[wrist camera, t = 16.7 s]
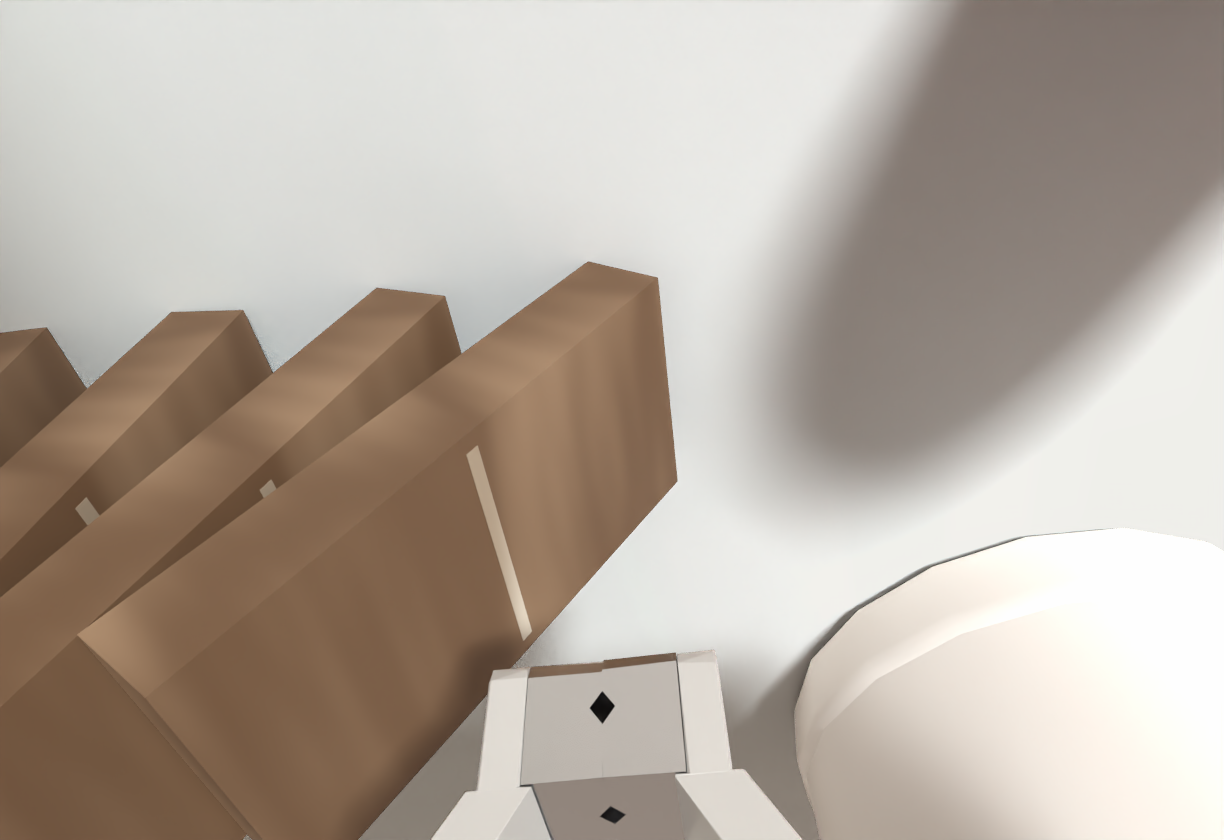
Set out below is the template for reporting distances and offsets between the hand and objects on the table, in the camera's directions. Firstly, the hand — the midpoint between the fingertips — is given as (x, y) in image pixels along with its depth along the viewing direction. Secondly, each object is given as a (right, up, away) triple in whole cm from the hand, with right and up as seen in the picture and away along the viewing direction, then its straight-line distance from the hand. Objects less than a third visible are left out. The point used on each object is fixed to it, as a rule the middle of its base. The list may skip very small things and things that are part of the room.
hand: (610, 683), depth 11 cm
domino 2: (-3, +4, +6) cm, 8 cm away
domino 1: (+1, +4, +6) cm, 7 cm away
